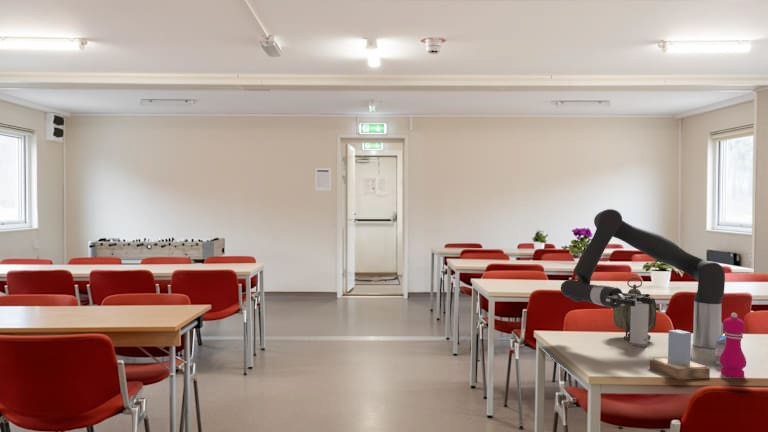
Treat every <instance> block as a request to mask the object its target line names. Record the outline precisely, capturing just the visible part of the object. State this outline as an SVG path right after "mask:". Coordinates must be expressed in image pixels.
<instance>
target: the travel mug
mask: <svg viewBox="0 0 768 432" xmlns="http://www.w3.org/2000/svg"><path fill="white" fill-rule="evenodd" d="M638 295H645V296H646V297H648V298H649V297H651V294H649V293H646V294H643V293H641V294H638ZM648 313H649V304H644V303H637V304H635V306H631V323H630V337H629V345H631V346H633V347H637V348H639V347H640V348H646V347H648V345H649V344H648V341H649V339H648V335H649V331H648Z"/></svg>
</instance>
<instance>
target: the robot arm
mask: <svg viewBox="0 0 768 432" xmlns="http://www.w3.org/2000/svg"><path fill="white" fill-rule="evenodd" d="M593 224H594V226H595V228H596V229H595V232H594V235H593V236H592V238H591V240H590V242H589V243H588V245H587V246H586V248H585V250H584V251H583V252H582V253H581V256H580V257H579V259H578V261H577V263H576V265H575V267H574V270H573V274H574V275H575V277H576V278H577V280H576V279H567V280H564V281H563V282H562V283H561V285H560V291H561V293H562V295H563V296H565V297H566V298H568V299H570V300H571V301H574V302H575V303H581V302H583V301H585V302H586V303H590V304H595V305H598V306H602V307H608V308H613V309H614V308H617V307H619V306H620V305H623V306H624V305H628V306H635V304H637V303H644V304H653V299H654V298H653V297H651V298H648V297H646V296H645V295H638V294H628V292H623V291H622V289H621V288H619V287H617V286H608V285H597V284H591V279H592V276H593V275H594V272H595V270H596V268H597V266H598V264H599V261H600V260H601V258H602V256H603V254H604V251H605V250H606V249H607V246H608V245H609V243H610V241H611V240H612V238H614V239H617V240H620V241H622V242H624V243H626V244H628V245H629V246H631V247H632V248H634V249H636V250H638V251H640V252H642V253H643V254H645V255H646V256H649V257H651V258H653V259H655V260H657V261H659V262H661V263H663V264H666V265H668V266H671V267H674V268H677V269H679V270H680V271H682V272H683V273H685V274H686V275H688V276H689V277H691V278H692V279H694V280H695V281H697V282H698V283H697V290H696V292H695V294H694V297H693V331H692V333H693V334H692V345H693V346H695V347H697V348H704V349H711V350H713V349H715V350H716V341H717V340H718V339H719V338H720V337H722V336H723V335H724V328H723V321H722V301H723V298H724V295H725V285H726V282H725V281H726V273H725V270H724V268H723V266H722V265H720V263H718V262H715V261H709V260H705V259H703V258H700V257H699V256H696V255H693V254H691V253H689V252H687V251H686V250H685V249H682V247H680V246H678V244H676V243H675V242H673V241H672V240H670V239H668V238H667V237H664V236H662V235H660V234H658V233H657V232H654V231H652V230H651V231H650V230H647V229H645V228H640V227H637V226H635V225H631V224H630V223H628V222H626V221H625V220H623V217H622V214H621V212H619V211H618V210H616V209H614V208H608V209H605V210H602V211H600V212H598V213H597V214H596V215H595V217H594V219H593ZM652 298H653V299H652Z"/></svg>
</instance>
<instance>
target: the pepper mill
mask: <svg viewBox="0 0 768 432" xmlns="http://www.w3.org/2000/svg"><path fill="white" fill-rule="evenodd" d="M722 323H723V330H725V331H723V335H724V336H725V337H726V346H725V348H724V350H723V352H722V354H721V356H720V363H721V364H722V366H721V369H720V373H721V374H720V375H722V376H724V375H725V377H729V378H733V377H735V379H743V378H744V377H745V371H744V370H743V369H744V368H745V367H746V366H747V358H746V356H745V354H744V352H743V350H742V345H741V344H742V340H743V339H744V338H743V335H744V334H743V332H744V331H745V330H746V324H745V322H744V321H743V320H742V319H741V318H738V314H737V313H736V312H732V313H731V314H730V317H727V318H725V319H724V320H723V321H722ZM742 377H743V378H742Z"/></svg>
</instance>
